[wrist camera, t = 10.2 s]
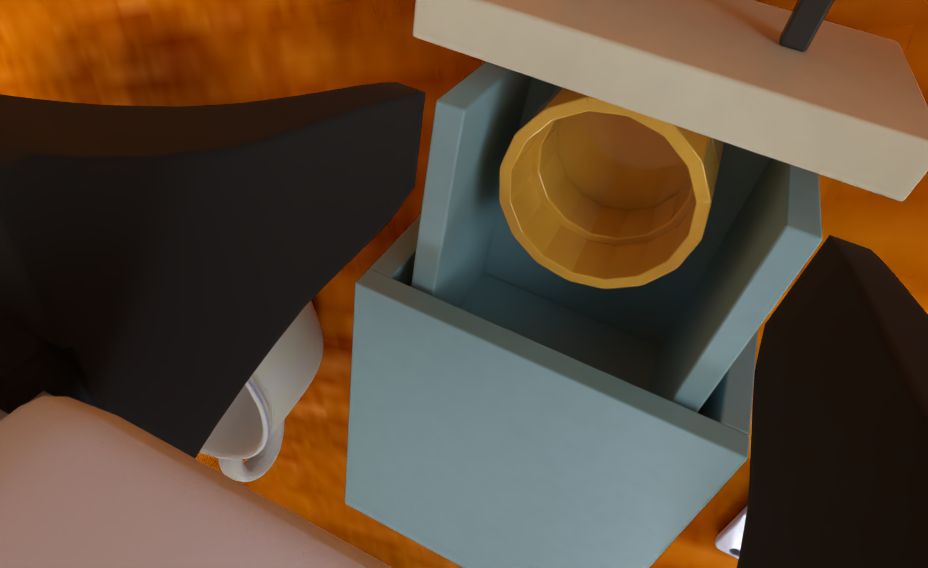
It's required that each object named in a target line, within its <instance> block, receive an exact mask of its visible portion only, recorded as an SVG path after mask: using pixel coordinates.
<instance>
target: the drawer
mask: <svg viewBox="0 0 928 568" xmlns="http://www.w3.org/2000/svg"><path fill="white" fill-rule="evenodd" d="M833 2H834V0H798V2H797V4H796V6H795V7H794V9H793V11H790V10H786V9H783V8H779V7H776V6H772V5H769V4H765V3H762V2H758V1H755V0H416V3H415V13H414V23H413V33H412V34H413V36H414V37H416V38H418V39H421V40H424V41H427V42H430V43H433V44H436V45H439V46H442V47H445V48H448V49H451V50H454V51H457V52H460V53H463V54H466V55H469V56H472V57H475V58H478V59H481V60H483V61H486V62H485V63H484V64H483V65H481V66H480V67H479V68H477V69H476V70H475V71H474V72H472V73H471V74H470V75H468V76H467V77H466V78H464V79H463V80H462V81H461V82H459V83H458V84H457V85H455V86H454V87H453V88H451V89H450V90H449V91H448V92H446V93H445V94H444V95H442V96H441V97H440V98H438V99H437V101H436V106H435V114H434V121H433V128H432V136H431V143H430V150H429V158H428V165H427V173H426V180H425V187H424V195H423V202H422V210H421V217H420V224H419V232H418V239H417V247H416V254H415V261H414V269H413V276H412V284H411V287H412V288H415V289H417V290H419V291H422V292H424V293H426V294H428V295H431V296H433V297H435V298H437V299H440V300H442V301H444V302H447V303H449V304H451V305H453V306H456V307H458V308H460V309H462V310H465V311H467V312H469V313H472V314H474V315H476V316H478V317H481V318H483V319H485V320H487V321H490V322H492V323H494V324H497V325H499V326H501V327H503V328H506V329H508V330H510V331H512V332H515V333H517V334H519V335H522V336H524V337H526V338H528V339H531V340H533V341H535V342H537V343H540V344H542V345H544V346H547V347H549V348H551V349H553V350H556V351H558V352H560V353H562V354H565V355H567V356H569V357H572V358H574V359H576V360H578V361H581V362H583V363H585V364H587V365H590V366H592V367H594V368H597V369H599V370H601V371H603V372H606V373H608V374H610V375H612V376H615V377H617V378H619V379H622V380H624V381H626V382H628V383H631V384H633V385H635V386H637V387H640V388H642V389H644V390H647V391H649V392H651V393H653V394H656V395H658V396H660V397H662V398H665V399H667V400H669V401H672V402H674V403H676V404H678V405H681V406H683V407H685V408H687V409H690V410H692V411H694V412H698V411H699V409H700V408H701V407H702V405H703V404H704V403H705V401H706V400H707V398H708V397H709V396H710V394H711V393H712V392H713V390H714V389H715V387H716V386H717V385H718V383H719V382H720V381H721V379H722V378H723V376H724V375H725V374H726V372H727V371H728V370H729V368H730V367H731V365H732V364H733V363H734V361H735V360H736V359H737V357H738V356H739V354H740V353H741V352H742V350H743V349H744V348H745V346H746V345H747V343H748V342H749V341H750V339H751V338H752V336H753V335H754V334H755V332H756V331H757V330H758V328H759V327H760V325H761V324H762V323H763V321H764V320H765V319H766V317H767V316H768V314H769V313H770V312H771V310H772V309H773V308H774V306H775V305H776V303H777V302H778V301H779V299H780V298H781V297H782V295H783V294H784V292H785V291H786V290H787V288H788V287H789V286H790V284H791V283H792V281H793V280H794V279H795V277H796V276H797V275H798V273H799V272H800V270H801V269H802V268H803V266H804V265H805V263H806V262H807V261H808V259H809V258H810V257H811V255H812V254H813V252H814V251H815V250H816V248H817V247H818V246H819V244H820V243H821V241H822V222H821V204H820V185H819V174H820V175H823V176H826V177H829V178H832V179H835V180H838V181H841V182H844V183H847V184H850V185H853V186H856V187H859V188H862V189H865V190H868V191H870V192H873V193H876V194H879V195H882V196H885V197H888V198H891V199H894V200H897V201H903V200H905V199H906V198H907V196H908V195H909V194H910V193H911V191H912V190H913V189H914V188H915V186H916V185H917V184H918V183H919V181H920V180H921V179H922V178H923V176H924V175H925V174H926V173H927V171H928V106H927V104H926V102H925V99H924V97H923V95H922V93H921V90H920V88H919V86H918V84H917V81H916V79H915V77H914V75H913V73H912V70H911V68H910V66H909V64H908V61H907V59H906V57H905V55H904V53H903V50H902V48H901V46H900V44H899V42H898V41H895V40H892V39H888V38H885V37H881V36H878V35H874V34H871V33H867V32H864V31H860V30H857V29H853V28H850V27H846V26H843V25H839V24H836V23H832V22H829V21H825V20H824V18H825V16H826V15H827V13H828V11H829V9H830V7H831V5H832V4H833ZM558 86H560V87H563V88H566V89H569V90H572V91H575V92H578V93H581V94H584V95H587V96H590V97H593V98H596V99H599V100H602V101H605V102H608V103H610V104H613V105H616V106H619V107H622V108H625V109H628V110H631V111H634V112H637V113H640V114H643V115H646V116H649V117H652V118H655V119H658V120H661V121H664V122H667V123H670V124H673V125H675V126H678V127H681V128H684V129H687V130H690V131H693V132H696V133H699V134H702V135H705V136H708V137H711V138H714V139H717V140H720V141H723V142H724V143H723V144H724V148H723V152H722V157H721V162H720V166H719V171H718V176H717V180H716V185H715V190H714V194H713V199H712V204H711V208H710V211H709V215H708V219H707V223H706V227H705V231H704V235H703V238H702V240H701V242H700V243H699V244H698V245H697V247H696V248H695V249H694V250H693V251H692V252H691V254H690V255H689V256H688V257H687V258H686V259H685V260H684V262H683V263H682V264H681V265H680V266H679V267H678V268H677V269H676V270H674V271H672V272H670V273H668V274H666V275H664V276H662V277H660V278H658V279H656V280H654V281H651V282H649V283H647V284H645V285H642V286H634V287H624V288H614V289H601V288H597V287H592V286H588V285H584V284H579V283H575V282H571V281H569V280H566V279H564V278H562V277H561V276H559V275H557V274H556V273H554V272H552V271H550V270H549V269H547V268H545V267H544V266H542V265H540V264H539V263H537V261H535V260H534V259H533V258H532V257H531V256H530V254H529V253H528V252H527V251H526V250H525V249H524V248H523V247H522V245H521V244H520V243H519V242H518V241H517V240H516V239H515V237H514V236H513V234H512V233H511V230H510V228H509V225H508V223H507V220H506V218H505V215H504V213H503V210H502V207H501V205H500V201H499V188H500V165H501V163H502V160H503V158H504V156H505V154H506V152H507V150H508V148H509V145H510V143H511V141H512V139H513V137H514V135H515V134H516V132H517V131H518V130H519V129H520V128H521V127H522V126H523V124H524V123H525V122H526V121H527V120H528V119H529V118H530V117H531V116H532V115H533V113H534V112H535V111H536V110H537V109H538V108H539V107H540V106H541V105H542V104H543V103H544V102H545V101H546V99H547V98H548V97H549V96H550V95H551V94H552V93H553V92H554V91H555V90H556V88H557V87H558Z"/></svg>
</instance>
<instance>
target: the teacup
mask: <svg viewBox="0 0 928 568" xmlns="http://www.w3.org/2000/svg"><path fill="white" fill-rule="evenodd" d="M322 355H323V333H322V328H321V325H320V321H319V318H318V316H317V313H316V311H315V309H314V306H313V303H312V301H310V302H309V303H308V304H307V305H306V306H305V307H304V309H303V310H302V311H301V312H300V314H299V315H298V316H297V317H296V319H295V320H294V321H293V322H292V324H291V325H290V326H289V327H288V329H287V330H286V331H285V332H284V334H283V335H282V336H281V337H280V339H279V340H278V341H277V342H276V344H275V345H274V346H273V348H272V349H271V350H270V352H269V353H268V354H267V356H266V357H265V358H264V360H263V361H262V362H261V364H260V365H259V366H258V368H257V369H256V370H255V372H254V373H253V374H252V376H251V377H250V378H249V380H248V381H247V382H246V384H245V385H244V387H243V388H242V390H241V391H240V392H239V394H238V395H237V397H236V398H235V400H234V401H233V402H232V404H231V405H230V407H229V408H228V410H227V411H226V413H225V414H224V415H223V417H222V418H221V420H220V421H219V423H218V424H217V425H216V427H215V428H214V430H213V432H212V433H211V435H210V436H209V438H208V439H207V441H206V442H205V444H204V445H203V447H202V449H201V450H200V452H201V453H203V454H208V455H210V456H213V457H216V458H218V463H219V466H220V468H221V470H222V472H223V473H224V474H225V475H226V476H228V477H229V478H231V479H233V480H236V481H241V482H250V481H253V480H256V479H258V478H259V477H261V476H263V475H264V474H265V473H266V472H267V471H268V470H269V469H270V467H271V466H272V465H273V463H274V461H275V460H276V458H277V456H278V453H279V451H280V448H281V444H282V439H283V434H284V419H285V417H286V416H287V415H288V414H289V412H290V411H291V410H292V408H293V407H294V406H295V404H296V403H297V402H298V401H299V399H300V398H301V396H302V395H303V394H304V392H305V391H306V389H307V388H308V387H309V385H310V384H311V382H312V380H313V379H314V377H315V375H316V373H317V371H318V369H319V366H320V363H321V360H322ZM247 458H250V459H248V460H247V461H246V462H245V463H244V461H243V459H247Z"/></svg>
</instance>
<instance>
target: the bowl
mask: <svg viewBox="0 0 928 568" xmlns="http://www.w3.org/2000/svg"><path fill="white" fill-rule="evenodd" d="M723 143H724V142H723V141H720V140H717V139H714V138H711V137H708V136H705V135H702V134H699V133H696V132H693V131H690V130H687V129H684V128H681V127H678V126H675V125H673V124H670V123H667V122H664V121H661V120H658V119H655V118H652V117H649V116H646V115H643V114H640V113H637V112H634V111H631V110H628V109H625V108H622V107H619V106H616V105H613V104H610V103H608V102H605V101H602V100H599V99H596V98H593V97H590V96H587V95H584V94H581V93H578V92H575V91H572V90H569V89H566V88H563V87H560V86H558V87H557V88H556V90H555V91H554V92H553V93H552V94H551V95H550V96H549V97H548V98H547V99H546V101H545V102H544V103H543V104H542V105H541V106H540V107H539V108H538V109H537V110H536V111H535V112H534V113H533V115H532V116H531V117H530V118H529V119H528V120H527V121H526V122H525V123H524V124H523V126H522V127H521V128H520V129H519V130H518V131H517V132H516V134H515V135H514V137H513V139H512V141H511V143H510V145H509V148H508V150H507V152H506V154H505V156H504V158H503V160H502V163H501V165H500V188H499V201H500V205H501V207H502V210H503V213H504V215H505V218H506V220H507V223H508V225H509V228H510V230H511V233H512V234H513V236H514V237H515V239H516V240H517V241H518V242H519V243H520V244H521V245H522V247H523V248H524V249H525V250H526V251H527V252H528V253H529V254H530V256H531V257H532V258H533V259H534V260H535V261H537V263H539V264H540V265H542V266H544V267H545V268H547V269H549V270H550V271H552V272H554V273H556V274H557V275H559V276H561V277H562V278H564V279H566V280H569V281H571V282H575V283H579V284H584V285H588V286H592V287H597V288H601V289H614V288H624V287H634V286H642V285H645V284H647V283H649V282H651V281H654V280H656V279H658V278H660V277H662V276H664V275H666V274H668V273H670V272H672V271H674V270H676V269H677V268H678V267H679V266H680V265H681V264H682V263H683V262H684V260H685V259H686V258H687V257H688V256H689V255H690V254H691V252H692V251H693V250H694V249H695V248H696V247H697V245H698V244H699V243H700V242H701V240H702V238H703V235H704V231H705V227H706V223H707V219H708V215H709V211H710V208H711V204H712V199H713V194H714V190H715V185H716V180H717V176H718V171H719V166H720V162H721V157H722V152H723V148H724V144H723Z"/></svg>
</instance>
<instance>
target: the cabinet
mask: <svg viewBox="0 0 928 568" xmlns="http://www.w3.org/2000/svg"><path fill="white" fill-rule="evenodd" d="M420 217H421V215H420V216H419V217H418V218H417V219H416V220H415V221H414V222H413V223H412V224H411V225H410V226H409V228H408V229H407V230H406V231H405V232H404V233H403V234H402V235H401V236H400V237H399V238H398V239H397V240H396V241H395V242H394V243H393V244H392V245H391V246H390V247H389V248H388V249H387V250H386V251H385V253H384V254H383V255H382V256H381V257H380V258H379V259H378V260H377V261H376V262H375V263H374V264H373V265H372V266H371V267H370V269H368V270H367V271H366V272H365V273H364V274H363V275H362V276H361V277H360V278H359V279H358V280H357V281H356V283H355V301H354V322H353V343H352V364H351V384H350V405H349V426H348V447H347V468H346V489H345V504H347V505H349V506H350V507H352V508H354V509H356V510H358V511H360V512H361V513H363V514H365V515H367V516H369V517H371V518H373V519H374V520H376V521H378V522H380V523H382V524H384V525H385V526H387V527H389V528H391V529H393V530H395V531H397V532H398V533H400V534H402V535H404V536H406V537H408V538H409V539H411V540H413V541H415V542H417V543H419V544H420V545H422V546H424V547H426V548H428V549H430V550H432V551H433V552H435V553H437V554H439V555H441V556H443V557H444V558H446V559H448V560H450V561H452V562H454V563H456V564H457V565H459V566H461V567H463V568H649V567H650V566H651V565H652V564H653V563H654V562H655V561H656V559H657V558H658V557H659V556H660V555H661V554H662V553H663V552H664V551H665V549H666V548H667V547H668V546H669V545H670V544H671V543H672V542H673V541H674V540H675V538H676V537H677V536H678V535H679V534H680V533H681V532H682V531H683V530H684V529H685V527H686V526H687V525H688V524H689V523H690V522H691V521H692V520H693V519H694V517H695V516H696V515H697V514H698V513H699V512H700V511H701V510H702V509H703V508H704V506H705V505H706V504H707V503H708V502H709V501H710V500H711V499H712V498H713V497H714V495H715V494H716V493H717V492H718V491H719V490H720V489H721V488H722V487H723V485H724V484H725V483H726V482H727V481H728V480H729V479H730V478H731V477H732V476H733V474H734V473H735V472H736V471H737V470H738V469H739V468H740V467H741V466H742V465H743V463H744V462H745V461H746V460H747V459H748V451H749V438H750V437H749V434H750V421H751V409H752V397H753V384H754V372H755V360H756V348H757V335H758V330H757V331H756V332H755V334H754V335H753V336H752V338H751V339H750V341H749V342H748V343H747V345H746V346H745V348H744V349H743V350H742V352H741V353H740V354H739V356H738V357H737V359H736V360H735V361H734V363H733V364H732V365H731V367H730V368H729V370H728V371H727V372H726V374H725V375H724V376H723V378H722V379H721V381H720V382H719V383H718V385H717V386H716V387H715V389H714V390H713V392H712V393H711V394H710V396H709V397H708V398H707V400H706V401H705V403H704V404H703V405H702V407H701V408H700V409H699V411H698V412H694V411H692V410H690V409H687V408H685V407H683V406H681V405H678V404H676V403H674V402H672V401H669V400H667V399H665V398H662V397H660V396H658V395H656V394H653V393H651V392H649V391H647V390H644V389H642V388H640V387H637V386H635V385H633V384H631V383H628V382H626V381H624V380H622V379H619V378H617V377H615V376H612V375H610V374H608V373H606V372H603V371H601V370H599V369H597V368H594V367H592V366H590V365H587V364H585V363H583V362H581V361H578V360H576V359H574V358H572V357H569V356H567V355H565V354H562V353H560V352H558V351H556V350H553V349H551V348H549V347H547V346H544V345H542V344H540V343H537V342H535V341H533V340H531V339H528V338H526V337H524V336H522V335H519V334H517V333H515V332H512V331H510V330H508V329H506V328H503V327H501V326H499V325H497V324H494V323H492V322H490V321H487V320H485V319H483V318H481V317H478V316H476V315H474V314H472V313H469V312H467V311H465V310H462V309H460V308H458V307H456V306H453V305H451V304H449V303H447V302H444V301H442V300H440V299H437V298H435V297H433V296H431V295H428V294H426V293H424V292H422V291H419V290H417V289H415V288H412V287H411V284H412V276H413V269H414V261H415V254H416V247H417V239H418V232H419V224H420Z"/></svg>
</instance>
